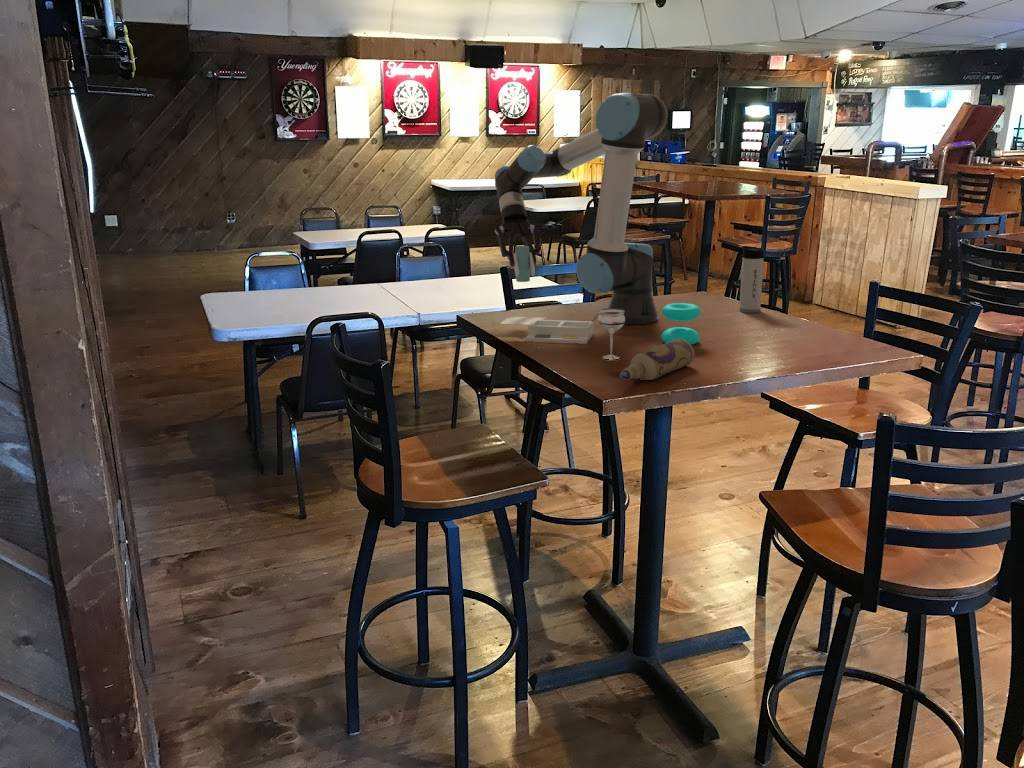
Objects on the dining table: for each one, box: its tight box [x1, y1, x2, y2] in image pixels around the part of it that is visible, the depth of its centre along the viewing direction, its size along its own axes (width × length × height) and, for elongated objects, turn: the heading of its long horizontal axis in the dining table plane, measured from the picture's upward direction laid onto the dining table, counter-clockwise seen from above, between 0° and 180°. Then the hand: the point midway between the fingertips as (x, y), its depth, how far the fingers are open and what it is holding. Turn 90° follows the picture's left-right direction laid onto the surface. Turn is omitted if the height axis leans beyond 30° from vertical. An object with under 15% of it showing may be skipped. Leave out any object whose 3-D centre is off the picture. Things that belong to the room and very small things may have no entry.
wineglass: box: [597, 308, 625, 361], centre depth 207 cm, size 7×7×12 cm
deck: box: [499, 316, 547, 326], centre depth 248 cm, size 12×10×1 cm
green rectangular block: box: [514, 245, 531, 283], centre depth 243 cm, size 4×4×10 cm
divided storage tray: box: [524, 319, 594, 345], centre depth 230 cm, size 17×12×4 cm
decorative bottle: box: [619, 339, 696, 381], centre depth 192 cm, size 26×8×7 cm, turn 137°
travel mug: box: [739, 245, 765, 314], centre depth 256 cm, size 6×7×20 cm
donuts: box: [661, 302, 702, 345], centre depth 221 cm, size 10×10×10 cm
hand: (525, 273), depth 240 cm, fingers closed on green rectangular block, 4 cm apart
